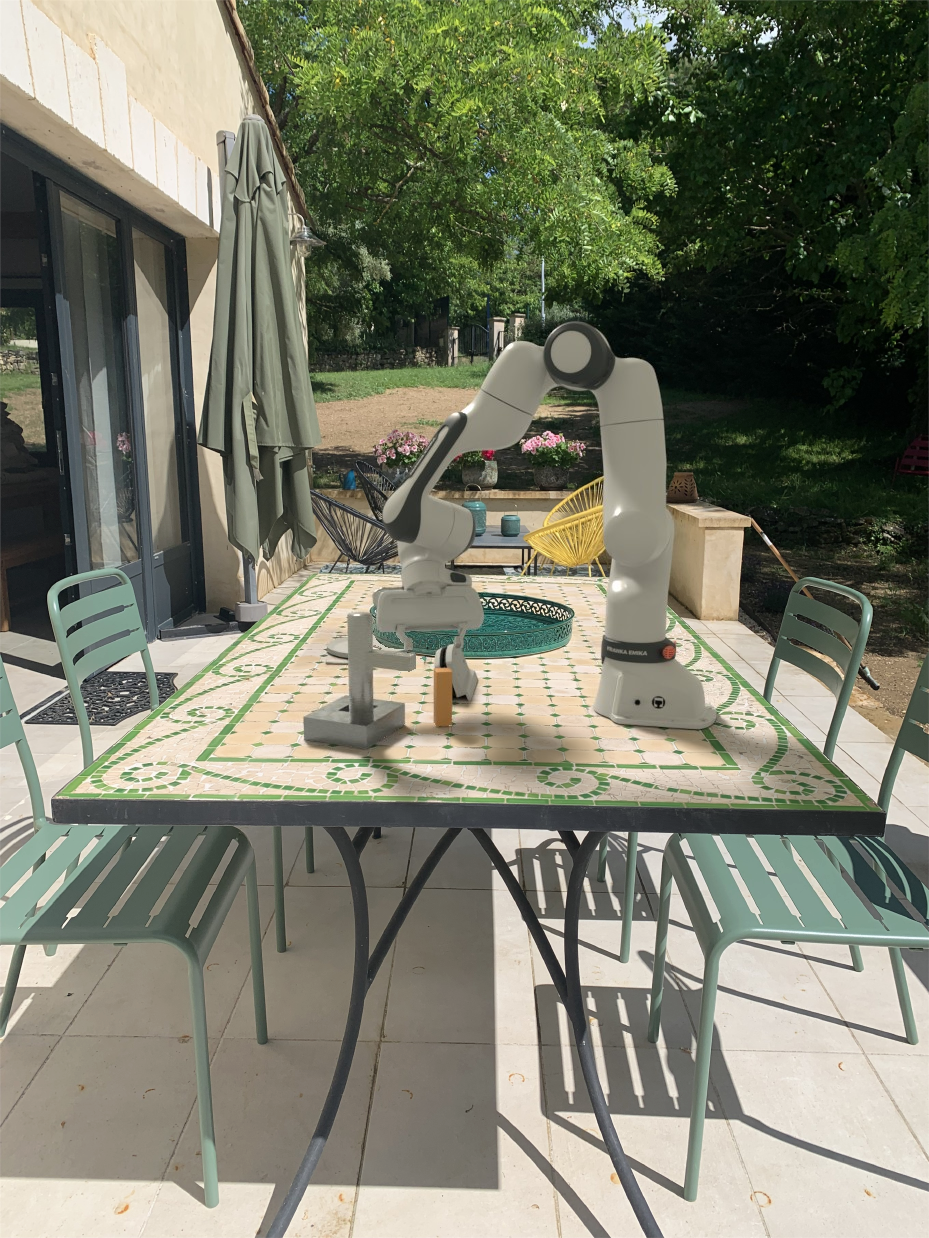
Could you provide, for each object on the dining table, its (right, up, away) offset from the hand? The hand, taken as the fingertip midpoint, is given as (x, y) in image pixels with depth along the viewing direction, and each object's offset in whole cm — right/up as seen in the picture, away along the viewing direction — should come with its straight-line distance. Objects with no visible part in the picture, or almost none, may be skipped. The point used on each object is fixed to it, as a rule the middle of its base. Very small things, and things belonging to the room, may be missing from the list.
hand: (434, 647), depth 166 cm
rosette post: (-10, -15, -11) cm, 21 cm away
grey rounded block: (+4, -9, +17) cm, 20 cm away
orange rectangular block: (+2, -13, -5) cm, 15 cm away
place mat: (-17, -3, +49) cm, 52 cm away
